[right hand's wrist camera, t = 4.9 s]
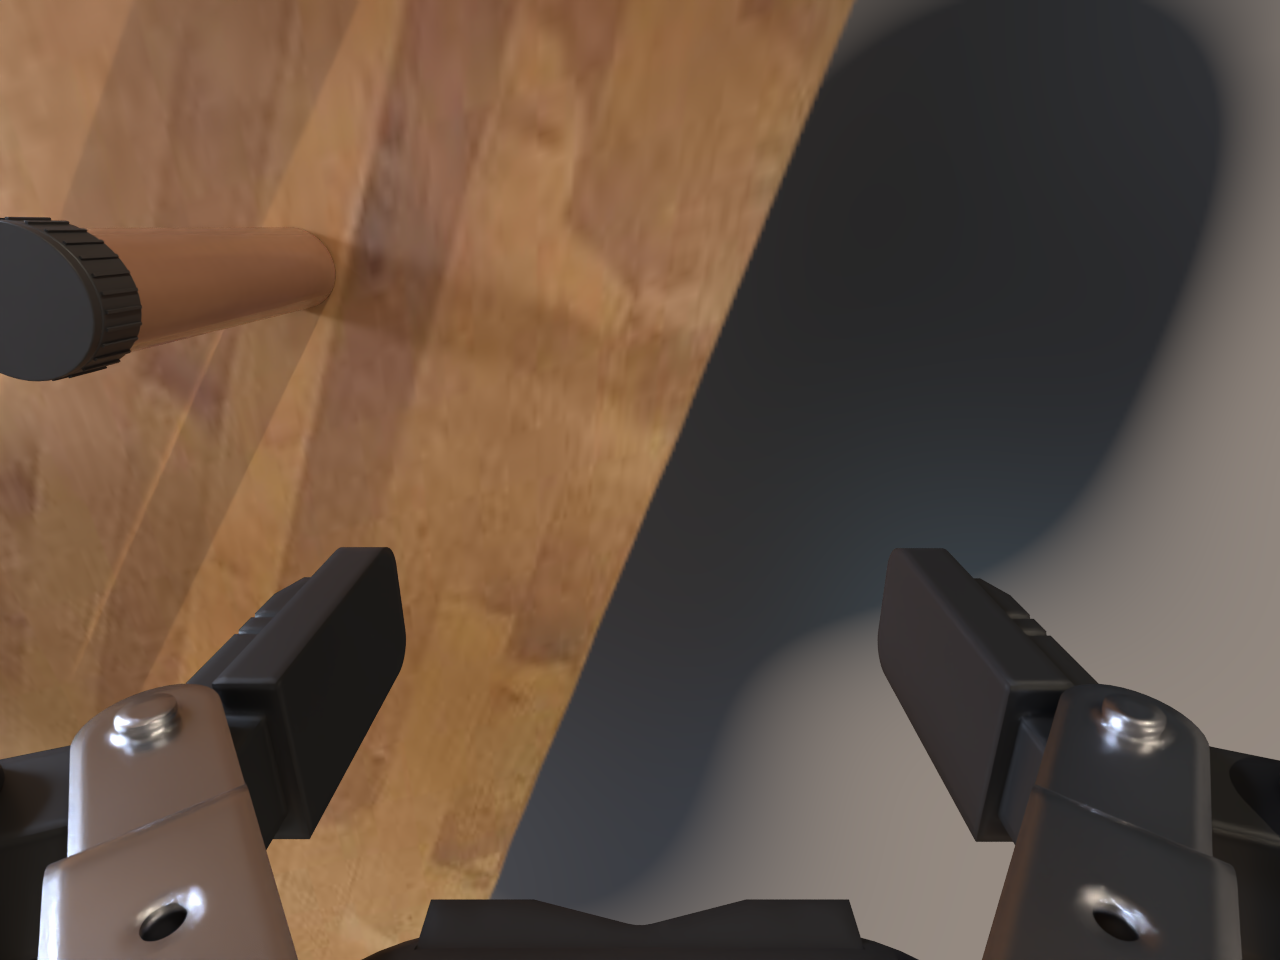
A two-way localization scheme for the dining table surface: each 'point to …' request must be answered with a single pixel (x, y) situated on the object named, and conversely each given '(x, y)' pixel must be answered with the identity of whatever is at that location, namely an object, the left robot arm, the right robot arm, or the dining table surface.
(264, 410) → the dining table surface
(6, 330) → the lid
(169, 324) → the brown capped cylinder
